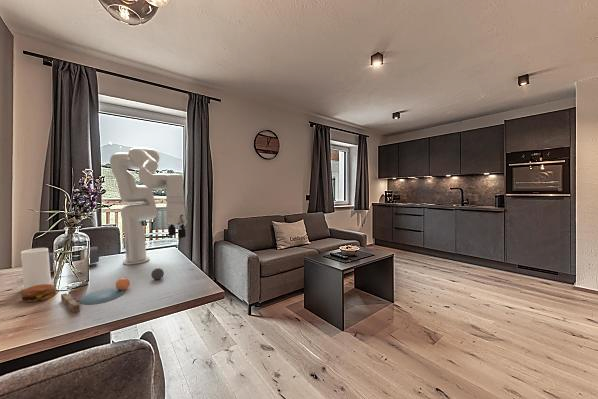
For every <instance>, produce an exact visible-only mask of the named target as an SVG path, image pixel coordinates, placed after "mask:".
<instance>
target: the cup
mask: <svg viewBox="0 0 598 399" xmlns="http://www.w3.org/2000/svg"><path fill="white" fill-rule="evenodd" d="M49 253H50V252H49V248H48V247H36V248H30V249H25V250H22V251H20V256H21V268H22V278H23V289H24V290H25V289H27V288H29V287H32V286H36V285H41V284H51V285H52V278H51V275H52V274H51V271H50V264H49ZM24 290H23V291H24Z"/></svg>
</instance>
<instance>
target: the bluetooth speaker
mask: <svg viewBox="0 0 598 399" xmlns="http://www.w3.org/2000/svg"><path fill="white" fill-rule="evenodd" d="M89 247H90V264H89V265H91V264H95V263H98V262H99V261H100V254H99V248H98V246H89ZM48 253H49V264H50V272H54V271H53V262H54V261H53V253H54V252H48Z"/></svg>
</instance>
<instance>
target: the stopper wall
mask: <svg viewBox="0 0 598 399" xmlns="http://www.w3.org/2000/svg"><path fill="white" fill-rule="evenodd" d="M60 298H61V302H62V303H63V304H64V305H65V306H66V307H67V308H68V309H69V310H70V311H71V312H72V313H73V314H77V313H79V312H80V310H81V309H80V304H79V303H78V302H77V301H76V300H75V299H73V298H72V297H71V296H70V295H69V294H68V293H67V292H65V293H61V294H60Z"/></svg>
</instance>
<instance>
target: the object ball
mask: <svg viewBox="0 0 598 399" xmlns="http://www.w3.org/2000/svg"><path fill="white" fill-rule="evenodd" d="M130 284H131V280H130V279H129V278H127V277H120V278H119V279H118V280H116V282H115V288H117V289H118V290H124V291H126V290H127V289H128V288H130Z"/></svg>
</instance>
